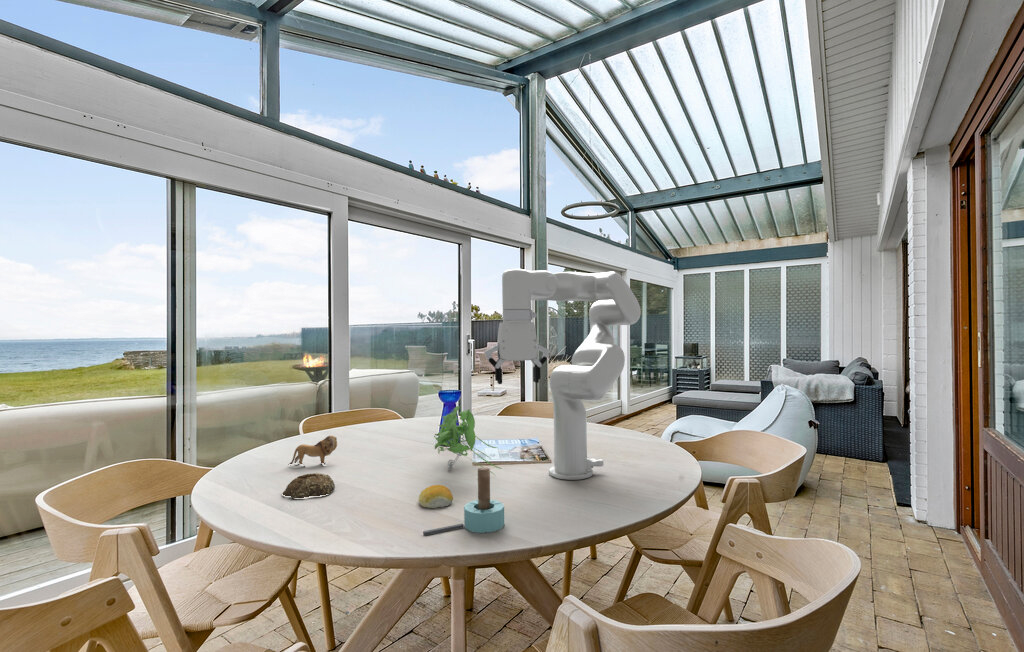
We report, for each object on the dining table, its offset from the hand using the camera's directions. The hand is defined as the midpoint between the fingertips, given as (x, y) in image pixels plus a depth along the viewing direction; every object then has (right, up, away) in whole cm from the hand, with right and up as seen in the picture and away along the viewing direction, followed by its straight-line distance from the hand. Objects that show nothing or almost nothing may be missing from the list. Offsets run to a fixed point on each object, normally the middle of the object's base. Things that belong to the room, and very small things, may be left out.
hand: (517, 382), depth 127 cm
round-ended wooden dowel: (-8, -28, -21) cm, 36 cm away
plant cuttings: (-15, -29, +22) cm, 39 cm away
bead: (-8, -28, -21) cm, 36 cm away
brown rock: (-55, -30, +2) cm, 63 cm away
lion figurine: (-64, -30, +29) cm, 77 cm away
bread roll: (-20, -29, -7) cm, 36 cm away
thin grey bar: (-16, -28, -24) cm, 41 cm away
